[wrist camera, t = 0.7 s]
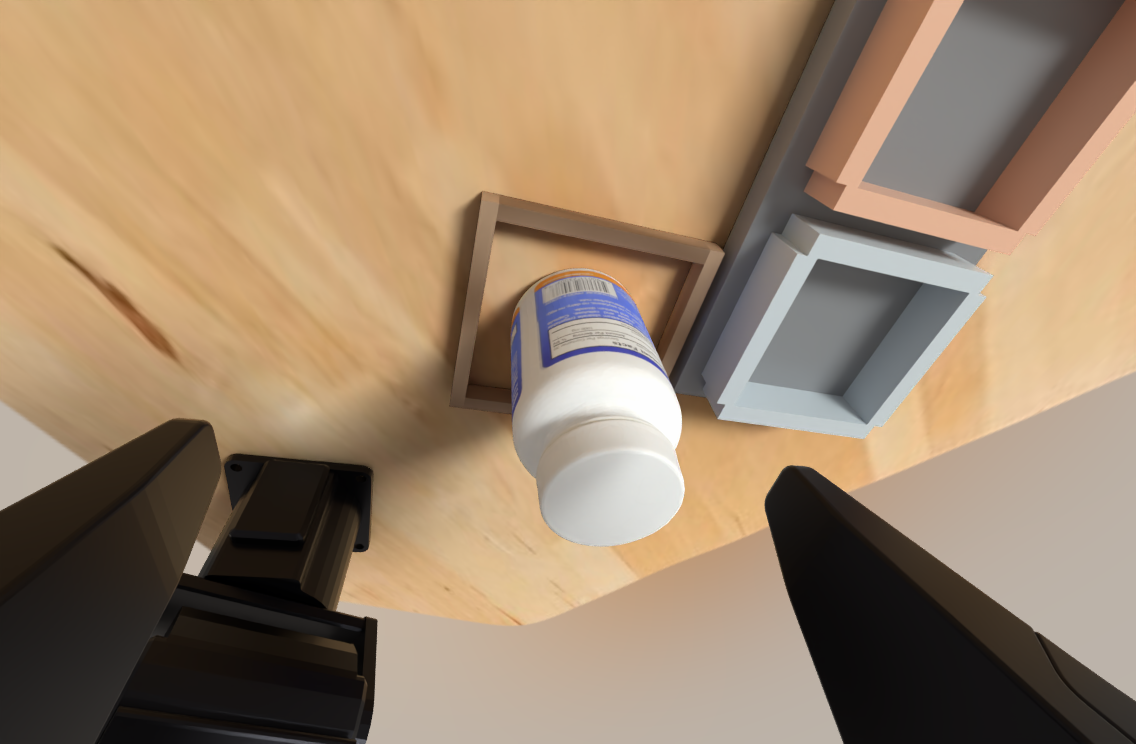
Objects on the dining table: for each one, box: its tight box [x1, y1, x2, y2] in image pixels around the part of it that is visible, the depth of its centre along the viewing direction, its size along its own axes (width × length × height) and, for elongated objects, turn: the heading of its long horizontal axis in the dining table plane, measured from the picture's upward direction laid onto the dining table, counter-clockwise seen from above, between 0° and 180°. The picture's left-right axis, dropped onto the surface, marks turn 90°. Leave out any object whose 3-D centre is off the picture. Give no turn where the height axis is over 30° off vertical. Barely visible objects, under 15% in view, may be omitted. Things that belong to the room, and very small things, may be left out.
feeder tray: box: [450, 191, 725, 414], centre depth 21 cm, size 9×9×1 cm
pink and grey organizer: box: [669, 0, 1136, 439], centre depth 18 cm, size 18×10×3 cm, turn 166°
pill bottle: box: [511, 268, 685, 546], centre depth 17 cm, size 5×5×10 cm
